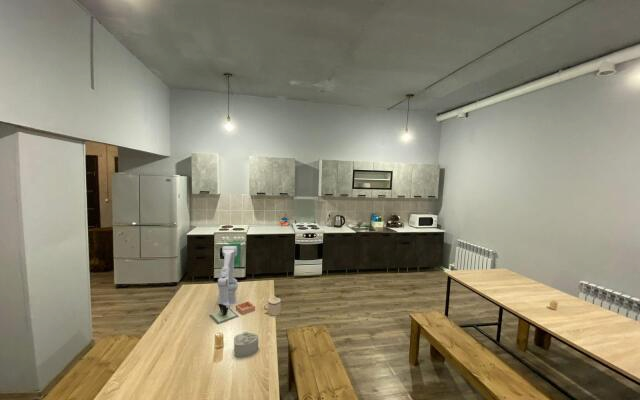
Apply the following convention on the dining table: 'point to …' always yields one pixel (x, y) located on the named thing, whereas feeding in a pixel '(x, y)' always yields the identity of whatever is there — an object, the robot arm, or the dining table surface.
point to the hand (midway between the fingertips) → (223, 313)
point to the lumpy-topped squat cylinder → (245, 344)
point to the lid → (223, 316)
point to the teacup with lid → (273, 306)
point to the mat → (223, 321)
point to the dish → (245, 308)
